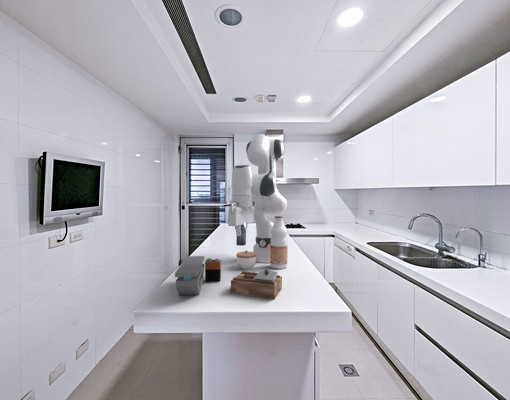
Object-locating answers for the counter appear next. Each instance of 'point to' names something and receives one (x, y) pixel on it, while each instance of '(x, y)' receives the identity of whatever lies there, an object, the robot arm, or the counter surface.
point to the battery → (212, 270)
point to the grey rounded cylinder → (242, 236)
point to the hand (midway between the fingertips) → (241, 235)
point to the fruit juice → (278, 244)
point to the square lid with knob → (267, 275)
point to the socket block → (255, 286)
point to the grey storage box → (190, 276)
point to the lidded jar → (246, 259)
